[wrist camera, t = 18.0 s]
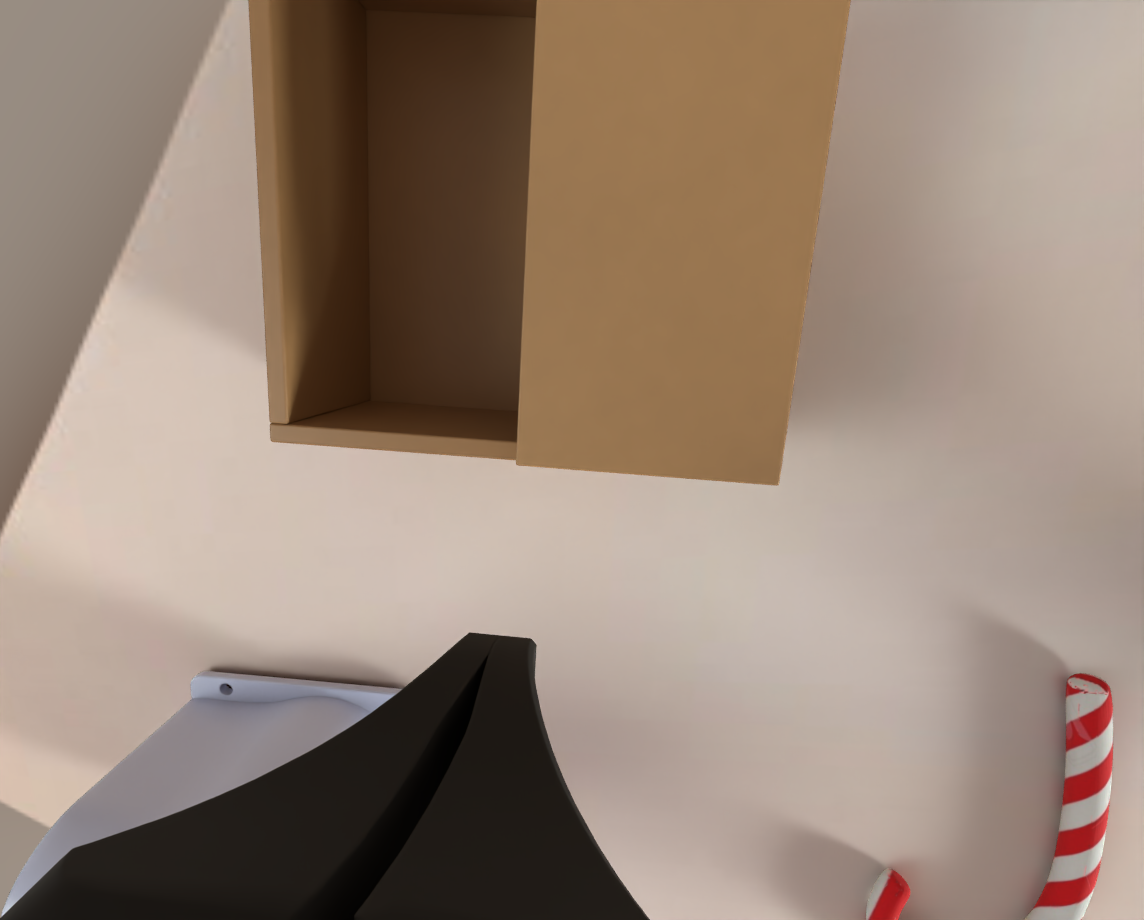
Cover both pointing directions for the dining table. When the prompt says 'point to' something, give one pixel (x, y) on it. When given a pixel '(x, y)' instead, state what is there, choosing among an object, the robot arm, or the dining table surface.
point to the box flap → (672, 231)
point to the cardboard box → (393, 219)
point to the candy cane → (1080, 815)
